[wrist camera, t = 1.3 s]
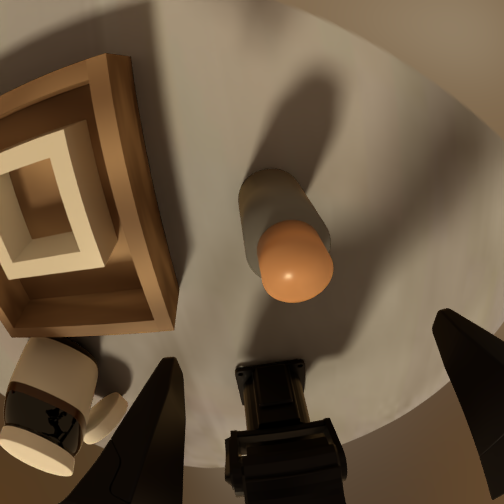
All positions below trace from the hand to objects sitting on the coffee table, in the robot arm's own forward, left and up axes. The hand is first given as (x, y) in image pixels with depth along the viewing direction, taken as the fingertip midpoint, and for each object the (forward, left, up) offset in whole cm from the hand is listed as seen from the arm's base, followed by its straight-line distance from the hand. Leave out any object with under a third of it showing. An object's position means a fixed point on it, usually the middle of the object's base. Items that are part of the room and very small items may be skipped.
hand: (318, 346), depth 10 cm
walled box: (+2, +14, -12) cm, 18 cm away
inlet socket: (+3, +14, -12) cm, 18 cm away
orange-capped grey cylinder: (0, 0, -12) cm, 12 cm away
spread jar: (-15, +20, -12) cm, 28 cm away
